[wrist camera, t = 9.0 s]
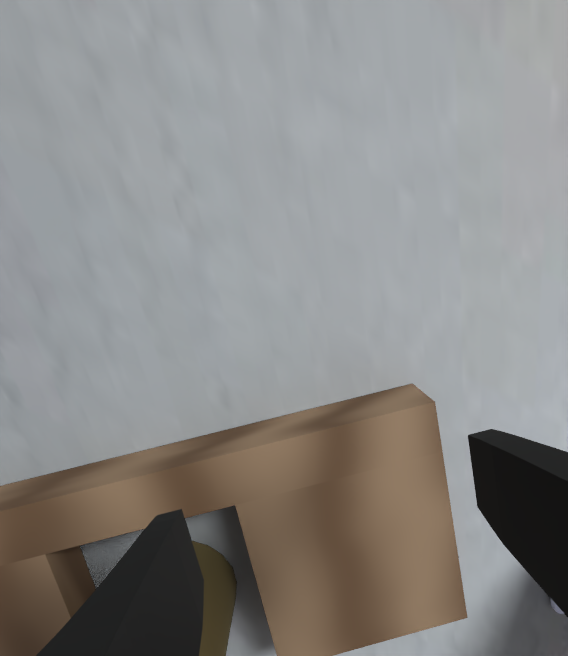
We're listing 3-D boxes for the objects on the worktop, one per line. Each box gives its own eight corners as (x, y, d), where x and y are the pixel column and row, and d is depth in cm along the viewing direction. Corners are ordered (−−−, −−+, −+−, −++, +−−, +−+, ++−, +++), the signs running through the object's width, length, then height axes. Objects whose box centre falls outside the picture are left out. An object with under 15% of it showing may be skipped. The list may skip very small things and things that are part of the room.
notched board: (412, 383, 21) (434, 402, 18) (443, 578, 23) (467, 617, 21) (-27, 492, 20) (-65, 527, 17) (56, 685, 22) (33, 739, 20)
